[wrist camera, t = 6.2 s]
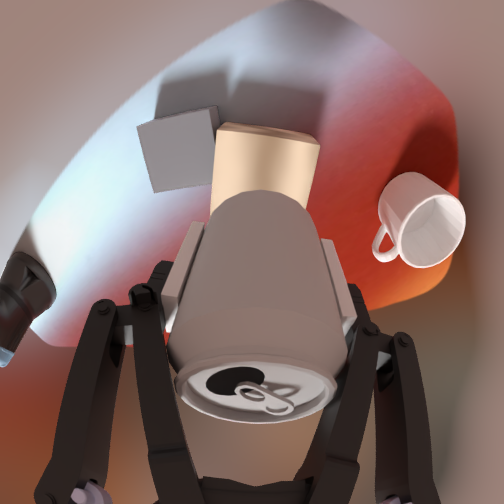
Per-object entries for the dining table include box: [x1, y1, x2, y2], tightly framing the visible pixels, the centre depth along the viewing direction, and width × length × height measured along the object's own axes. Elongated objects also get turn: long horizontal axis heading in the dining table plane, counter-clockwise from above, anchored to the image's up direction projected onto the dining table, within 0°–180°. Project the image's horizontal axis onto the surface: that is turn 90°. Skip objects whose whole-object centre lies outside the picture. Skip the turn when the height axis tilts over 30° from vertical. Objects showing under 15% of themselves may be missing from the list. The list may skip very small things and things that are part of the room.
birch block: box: [210, 122, 320, 217], centre depth 29 cm, size 10×10×6 cm
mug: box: [372, 172, 465, 268], centre depth 30 cm, size 13×10×8 cm
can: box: [166, 189, 348, 424], centre depth 14 cm, size 8×8×12 cm
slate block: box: [137, 106, 220, 193], centre depth 28 cm, size 8×8×5 cm
